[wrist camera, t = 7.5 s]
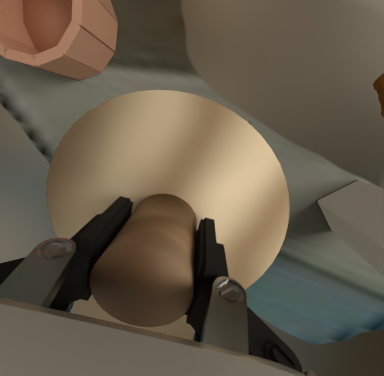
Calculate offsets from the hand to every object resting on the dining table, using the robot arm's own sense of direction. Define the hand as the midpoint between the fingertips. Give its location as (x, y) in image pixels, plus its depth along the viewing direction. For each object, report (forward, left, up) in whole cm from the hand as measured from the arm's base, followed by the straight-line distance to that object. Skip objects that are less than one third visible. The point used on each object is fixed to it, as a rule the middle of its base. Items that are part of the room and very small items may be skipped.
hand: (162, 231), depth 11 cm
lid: (0, 0, -2) cm, 2 cm away
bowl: (+20, -14, -22) cm, 33 cm away
